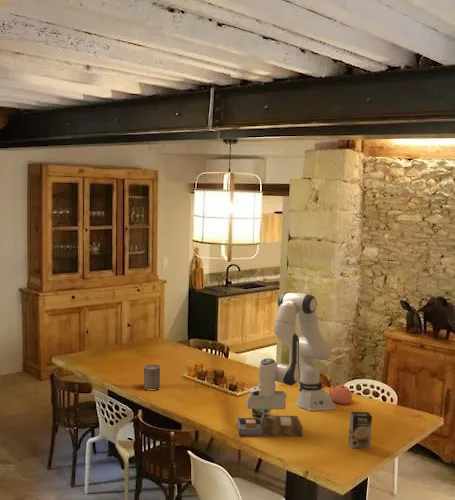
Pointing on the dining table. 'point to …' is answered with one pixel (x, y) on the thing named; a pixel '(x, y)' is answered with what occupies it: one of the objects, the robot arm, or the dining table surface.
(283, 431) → the block
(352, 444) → the coffee box
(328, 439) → the dining table surface
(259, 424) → the bin
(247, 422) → the terracotta tile
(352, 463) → the dining table surface
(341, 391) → the sugar bowl
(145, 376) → the smart speaker
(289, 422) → the cream block
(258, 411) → the food container
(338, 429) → the dining table surface
